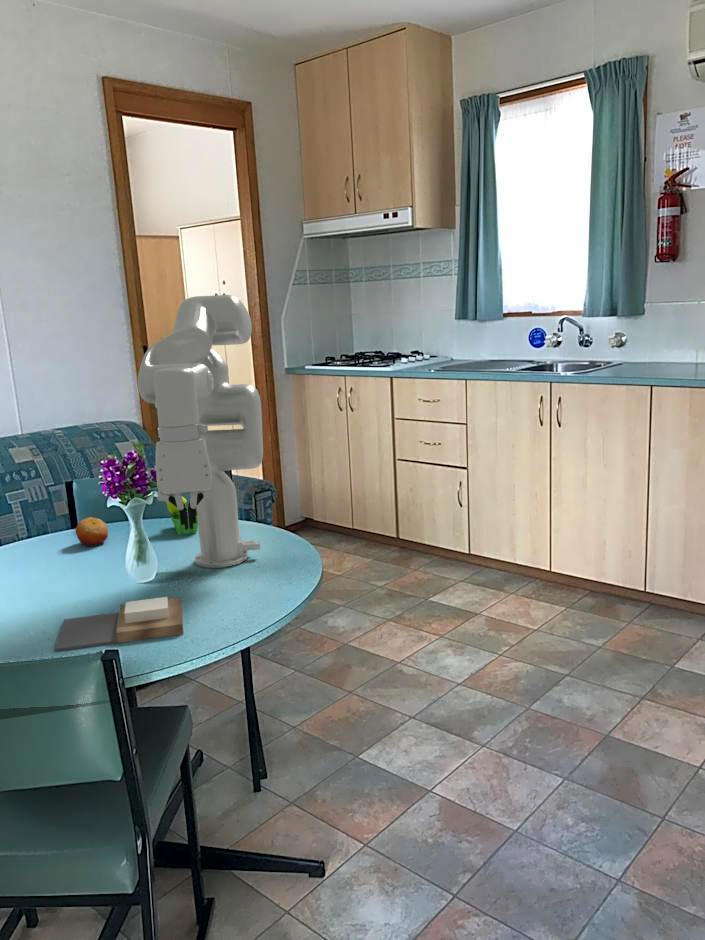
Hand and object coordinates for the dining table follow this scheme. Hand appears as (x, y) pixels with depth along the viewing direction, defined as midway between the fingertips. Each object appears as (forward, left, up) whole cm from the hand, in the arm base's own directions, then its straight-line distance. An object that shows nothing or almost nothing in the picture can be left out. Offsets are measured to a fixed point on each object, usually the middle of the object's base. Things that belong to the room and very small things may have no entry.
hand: (189, 527), depth 150 cm
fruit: (+25, -60, -19) cm, 68 cm away
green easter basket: (+1, -64, -19) cm, 67 cm away
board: (+9, 0, -19) cm, 21 cm away
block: (+9, 0, -17) cm, 19 cm away
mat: (+20, 0, -19) cm, 28 cm away
